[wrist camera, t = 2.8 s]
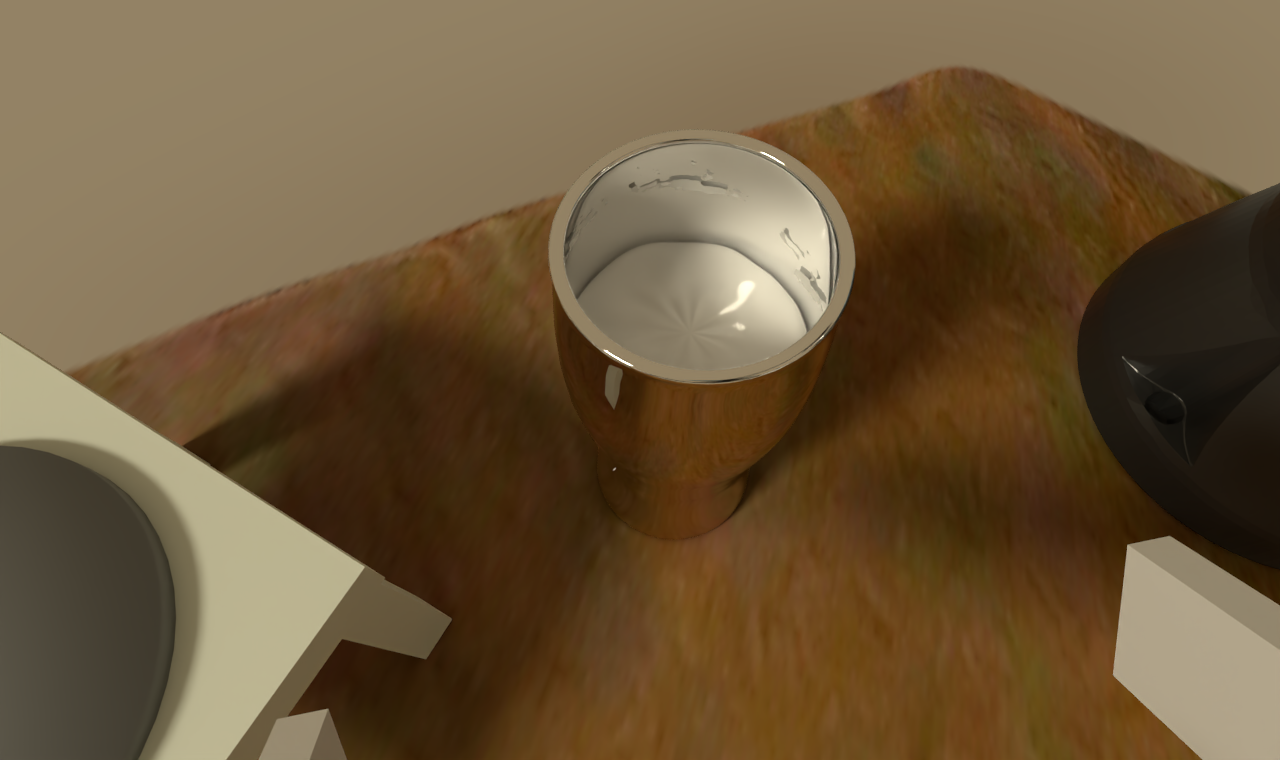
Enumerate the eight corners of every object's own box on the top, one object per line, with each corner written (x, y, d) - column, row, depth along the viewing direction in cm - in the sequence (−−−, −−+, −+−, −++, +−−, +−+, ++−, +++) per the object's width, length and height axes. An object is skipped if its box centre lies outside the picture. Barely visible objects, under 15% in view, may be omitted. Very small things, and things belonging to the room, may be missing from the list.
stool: (460, 616, 26) (355, 562, 17) (182, 1045, 21) (-200, 1324, 12) (181, 439, 29) (-44, 305, 20) (-122, 778, 24) (-628, 822, 14)
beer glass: (678, 356, 31) (709, 76, 17) (795, 473, 29) (935, 257, 15) (550, 456, 29) (472, 230, 15) (665, 590, 27) (691, 465, 13)
